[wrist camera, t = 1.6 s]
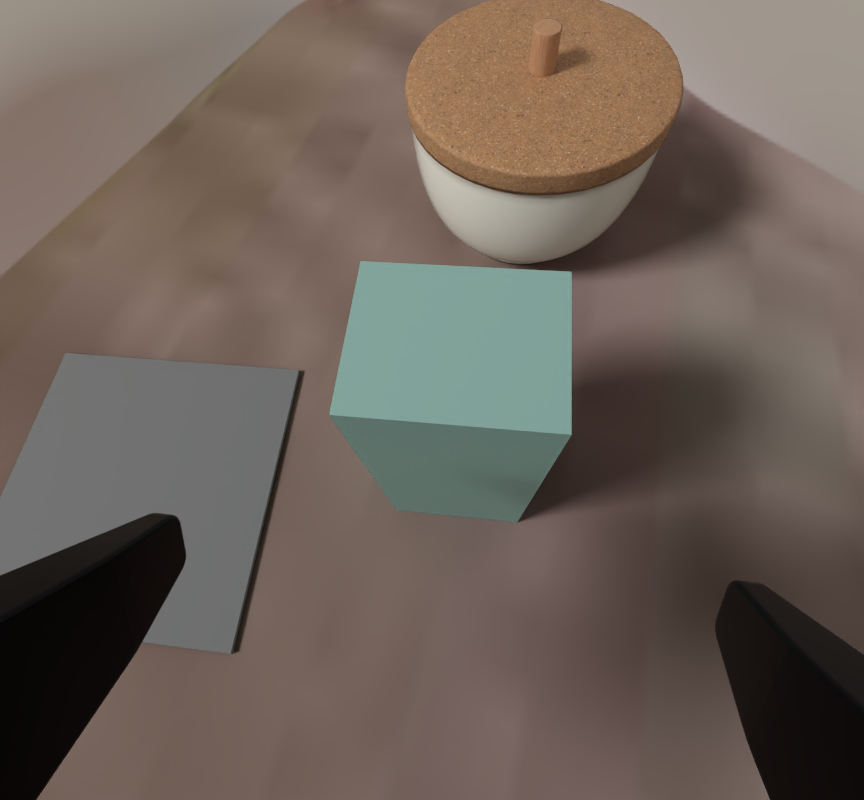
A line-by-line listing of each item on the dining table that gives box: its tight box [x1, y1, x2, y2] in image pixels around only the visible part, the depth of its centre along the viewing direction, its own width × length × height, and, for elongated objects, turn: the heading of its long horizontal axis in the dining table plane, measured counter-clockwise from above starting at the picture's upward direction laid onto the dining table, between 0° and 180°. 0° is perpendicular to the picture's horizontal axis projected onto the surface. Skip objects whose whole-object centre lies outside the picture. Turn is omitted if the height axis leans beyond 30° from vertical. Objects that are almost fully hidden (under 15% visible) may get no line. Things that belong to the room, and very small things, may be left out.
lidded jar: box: [405, 0, 683, 264], centre depth 22 cm, size 11×11×9 cm
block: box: [329, 261, 572, 522], centre depth 16 cm, size 4×5×11 cm
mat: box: [0, 353, 300, 654], centre depth 21 cm, size 12×12×1 cm
